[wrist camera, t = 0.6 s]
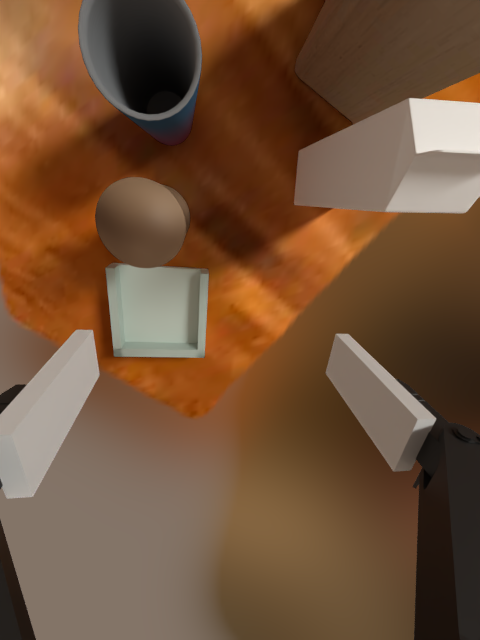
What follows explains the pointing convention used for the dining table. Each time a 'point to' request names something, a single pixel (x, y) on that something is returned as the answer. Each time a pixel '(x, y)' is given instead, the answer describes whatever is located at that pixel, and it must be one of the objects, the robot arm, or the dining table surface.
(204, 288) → the square tray
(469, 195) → the milk
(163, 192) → the doorknob
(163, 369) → the dining table surface
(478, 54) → the wooden block
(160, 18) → the cup
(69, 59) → the dining table surface
